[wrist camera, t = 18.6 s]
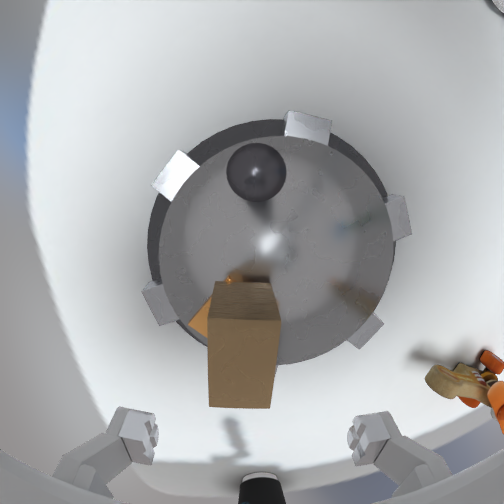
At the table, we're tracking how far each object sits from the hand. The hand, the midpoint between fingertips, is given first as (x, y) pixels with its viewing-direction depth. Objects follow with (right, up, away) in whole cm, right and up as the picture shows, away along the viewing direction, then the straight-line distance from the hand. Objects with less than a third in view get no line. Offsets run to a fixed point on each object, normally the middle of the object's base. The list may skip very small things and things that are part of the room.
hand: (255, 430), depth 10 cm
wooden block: (-1, +2, +9) cm, 9 cm away
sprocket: (+2, +7, +11) cm, 13 cm away
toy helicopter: (+24, -7, +17) cm, 30 cm away
